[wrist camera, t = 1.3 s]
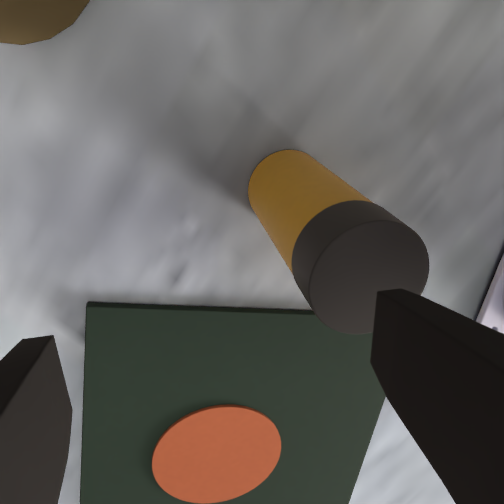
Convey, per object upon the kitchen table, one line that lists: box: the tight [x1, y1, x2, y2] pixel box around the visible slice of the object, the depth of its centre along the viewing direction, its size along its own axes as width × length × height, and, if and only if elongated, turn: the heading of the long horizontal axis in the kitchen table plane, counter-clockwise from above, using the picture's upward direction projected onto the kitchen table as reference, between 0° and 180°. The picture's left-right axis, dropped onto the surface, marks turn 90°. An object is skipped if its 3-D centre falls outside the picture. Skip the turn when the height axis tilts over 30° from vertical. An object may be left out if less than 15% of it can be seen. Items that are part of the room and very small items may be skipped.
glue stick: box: [248, 150, 429, 334], centre depth 17 cm, size 4×4×8 cm
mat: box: [80, 302, 386, 504], centre depth 25 cm, size 16×16×1 cm
